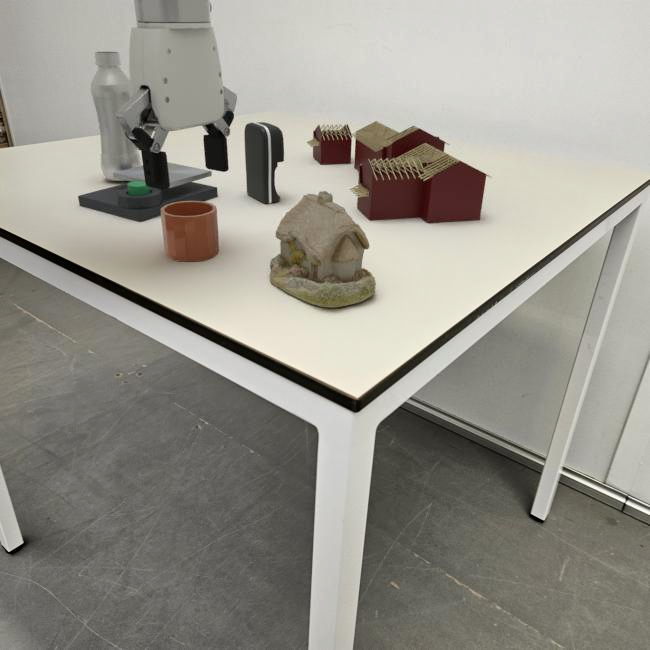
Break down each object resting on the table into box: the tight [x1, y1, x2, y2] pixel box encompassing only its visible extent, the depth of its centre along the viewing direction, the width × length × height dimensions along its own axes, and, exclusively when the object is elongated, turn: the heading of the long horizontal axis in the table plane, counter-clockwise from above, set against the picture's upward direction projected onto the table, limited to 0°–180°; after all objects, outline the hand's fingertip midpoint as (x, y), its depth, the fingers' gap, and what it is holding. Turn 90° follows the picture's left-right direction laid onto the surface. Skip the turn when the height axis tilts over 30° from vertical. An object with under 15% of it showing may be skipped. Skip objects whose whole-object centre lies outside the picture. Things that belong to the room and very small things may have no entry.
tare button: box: [127, 181, 150, 196], centre depth 85 cm, size 3×3×2 cm
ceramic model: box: [269, 190, 377, 309], centre depth 65 cm, size 14×11×10 cm
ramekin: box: [160, 201, 220, 263], centre depth 73 cm, size 6×6×6 cm
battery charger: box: [244, 121, 285, 204], centre depth 93 cm, size 7×4×11 cm, turn 33°
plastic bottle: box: [90, 51, 143, 182], centre depth 98 cm, size 6×7×20 cm
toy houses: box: [306, 120, 493, 224], centre depth 103 cm, size 45×20×10 cm, turn 14°
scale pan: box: [113, 161, 213, 188], centre depth 93 cm, size 10×11×1 cm
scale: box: [77, 181, 219, 223], centre depth 92 cm, size 16×13×3 cm
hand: (189, 178), depth 70 cm, fingers open, 9 cm apart
